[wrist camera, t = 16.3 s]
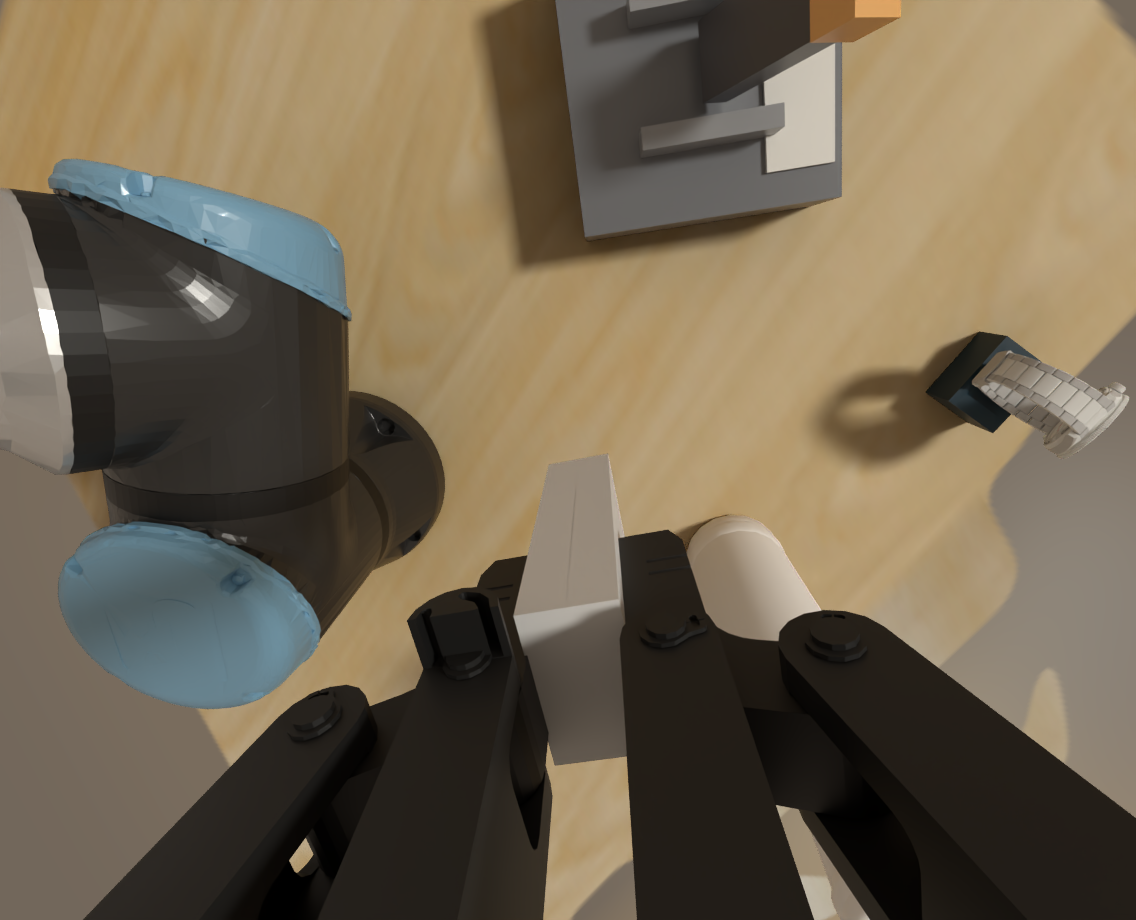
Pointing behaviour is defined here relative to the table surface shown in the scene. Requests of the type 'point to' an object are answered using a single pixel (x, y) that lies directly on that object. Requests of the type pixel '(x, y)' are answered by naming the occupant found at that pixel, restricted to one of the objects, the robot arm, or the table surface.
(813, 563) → the table surface
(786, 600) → the bottle
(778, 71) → the lever
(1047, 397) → the watch
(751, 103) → the box
